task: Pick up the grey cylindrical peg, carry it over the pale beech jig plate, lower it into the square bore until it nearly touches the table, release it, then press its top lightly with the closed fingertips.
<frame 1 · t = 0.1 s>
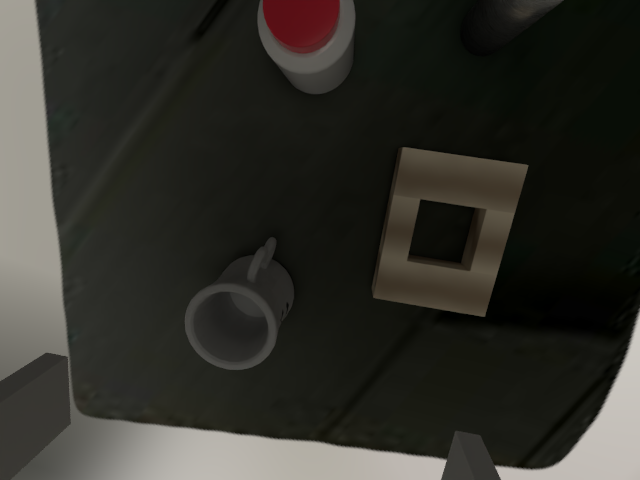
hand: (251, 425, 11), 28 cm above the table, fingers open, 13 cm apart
jig: (438, 230, 37), on the table
mug: (263, 276, 40), on the table
grey cylindrical peg: (485, 29, 32), on the table
pill bottle: (316, 54, 34), on the table
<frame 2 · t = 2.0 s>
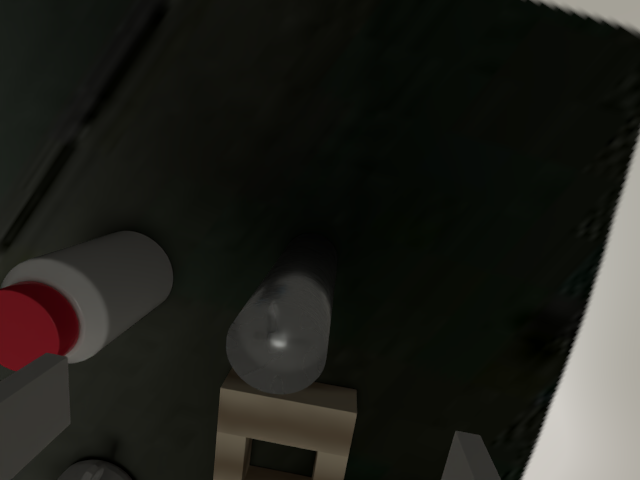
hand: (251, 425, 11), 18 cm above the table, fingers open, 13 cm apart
jig: (284, 445, 33), on the table
mug: (108, 476, 37), on the table
grey cylindrical peg: (310, 259, 28), on the table
pill bottle: (134, 270, 30), on the table
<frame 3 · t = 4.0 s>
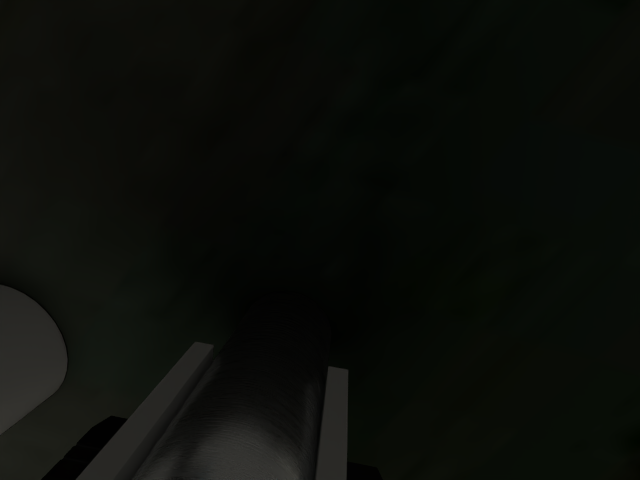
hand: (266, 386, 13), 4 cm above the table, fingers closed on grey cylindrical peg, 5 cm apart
grey cylindrical peg: (286, 332, 17), on the table, touching gripper
pill bottle: (8, 344, 19), on the table
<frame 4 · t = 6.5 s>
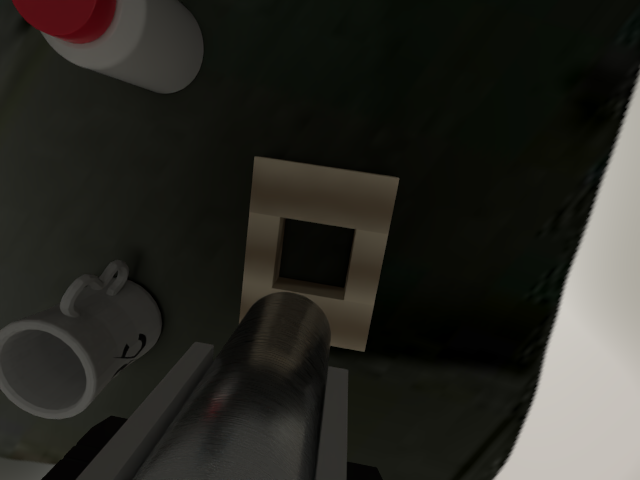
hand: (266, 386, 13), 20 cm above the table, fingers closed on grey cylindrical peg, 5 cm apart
jig: (316, 250, 32), on the table
mug: (129, 301, 35), on the table
grey cylindrical peg: (286, 333, 17), point 15 cm above the table, touching gripper
pill bottle: (162, 47, 29), on the table
when the fingers open (5 cm above the table, at t = 9.0 s): grey cylindrical peg stays where it is, resting in jig.
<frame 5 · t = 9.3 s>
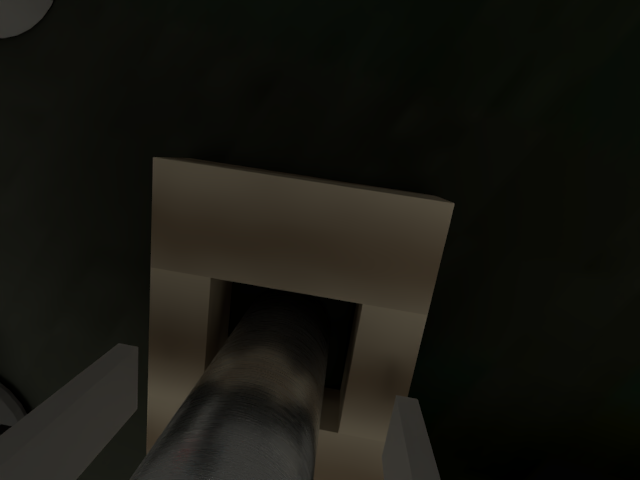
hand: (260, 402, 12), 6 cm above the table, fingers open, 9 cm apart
jig: (289, 326, 18), on the table
grey cylindrical peg: (288, 326, 18), resting in jig
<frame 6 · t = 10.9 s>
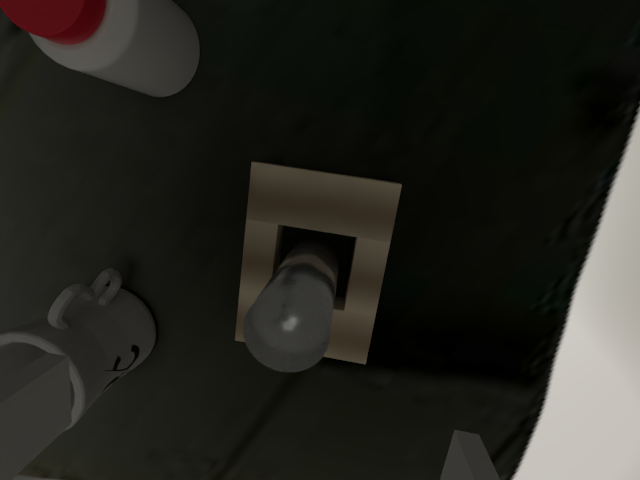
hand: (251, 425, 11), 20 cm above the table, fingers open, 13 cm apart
jig: (315, 258, 31), on the table
mug: (123, 310, 34), on the table
grey cylindrical peg: (315, 258, 31), resting in jig
pill bottle: (157, 49, 28), on the table
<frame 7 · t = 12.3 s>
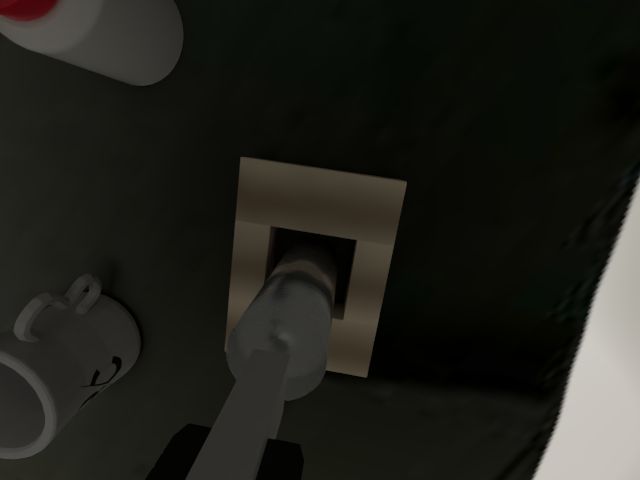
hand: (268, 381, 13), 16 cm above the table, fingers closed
jig: (312, 262, 28), on the table
mug: (105, 317, 32), on the table
grey cylindrical peg: (311, 262, 28), resting in jig
pill bottle: (137, 32, 26), on the table
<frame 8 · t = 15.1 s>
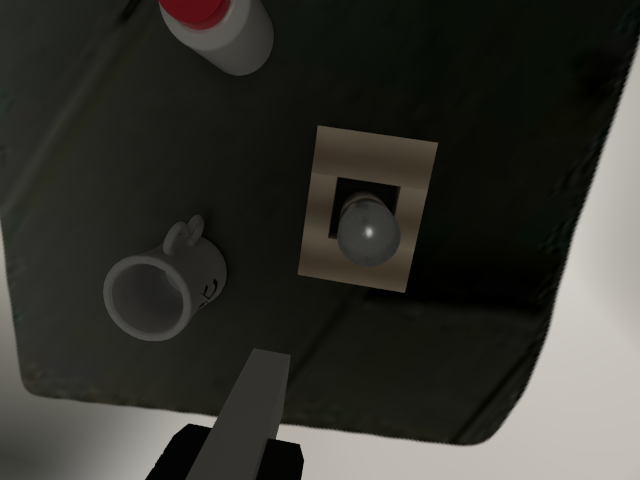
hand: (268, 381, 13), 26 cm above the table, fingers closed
jig: (362, 209, 38), on the table
mug: (198, 256, 41), on the table
grey cylindrical peg: (361, 209, 38), resting in jig
pill bottle: (238, 36, 35), on the table
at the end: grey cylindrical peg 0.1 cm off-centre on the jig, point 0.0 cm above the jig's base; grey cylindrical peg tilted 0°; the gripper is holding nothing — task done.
